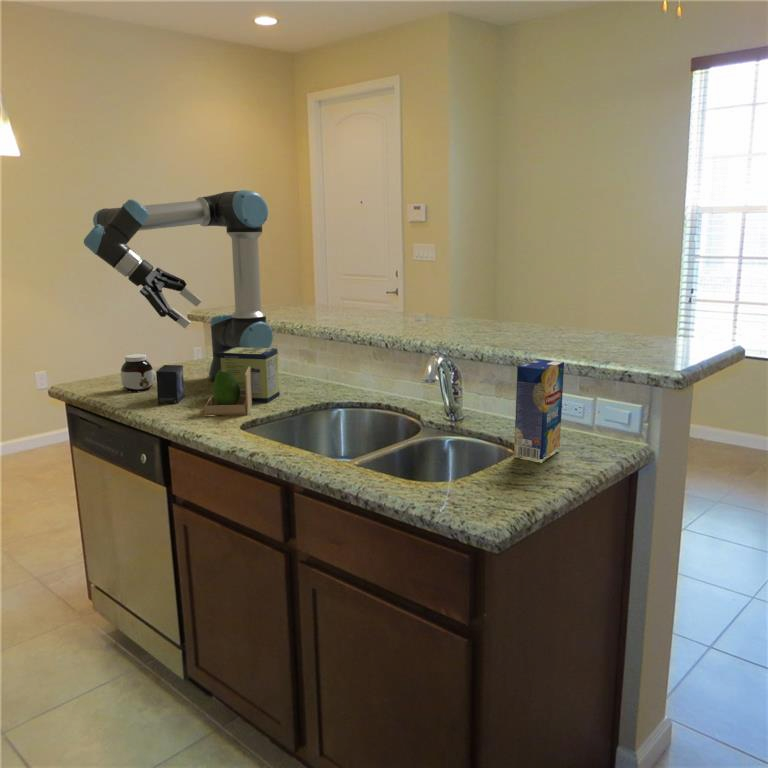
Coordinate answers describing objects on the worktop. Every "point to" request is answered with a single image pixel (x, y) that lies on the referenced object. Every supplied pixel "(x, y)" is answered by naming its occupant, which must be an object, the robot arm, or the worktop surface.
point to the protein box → (254, 371)
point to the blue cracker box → (538, 408)
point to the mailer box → (238, 409)
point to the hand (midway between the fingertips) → (193, 314)
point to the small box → (170, 383)
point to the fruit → (225, 388)
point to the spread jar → (137, 373)
